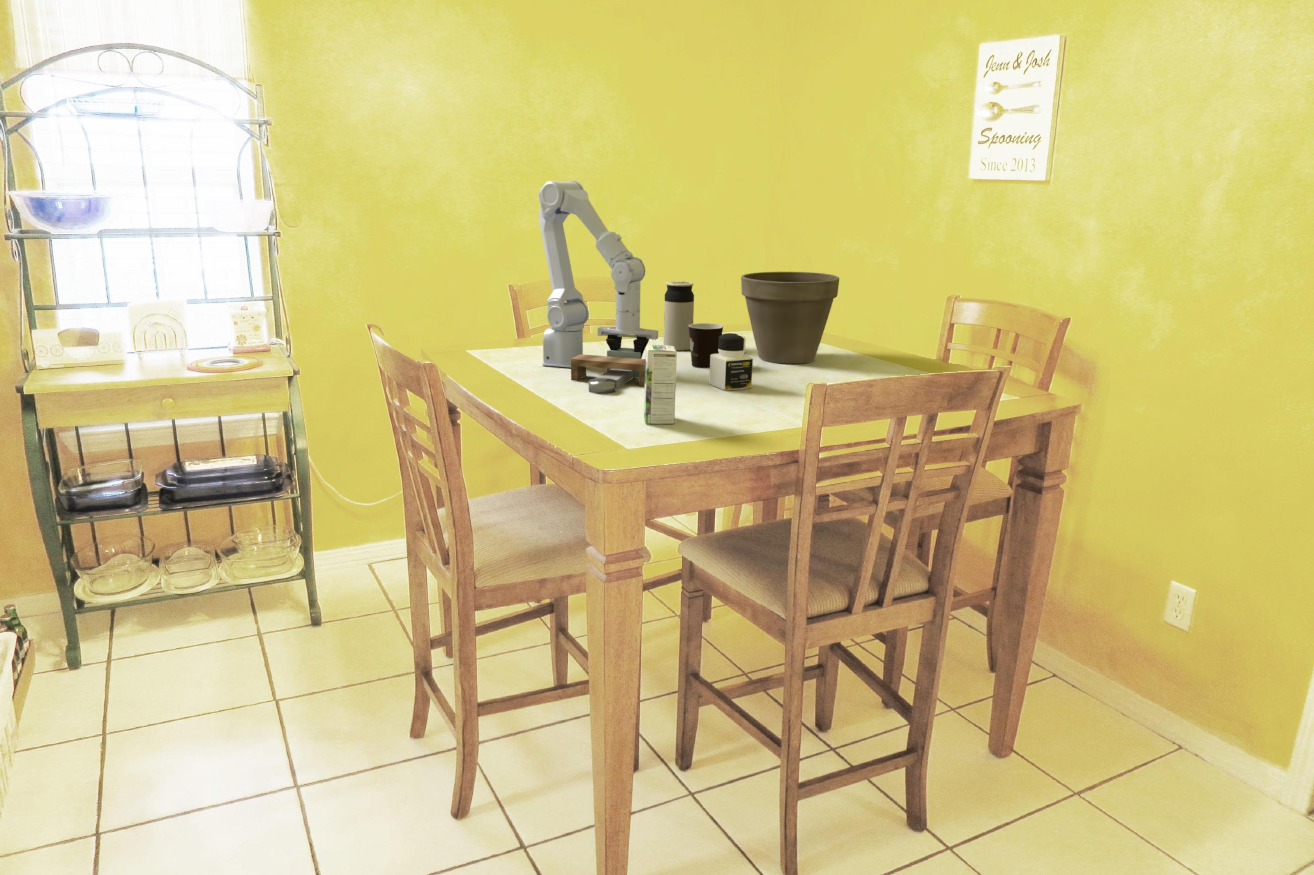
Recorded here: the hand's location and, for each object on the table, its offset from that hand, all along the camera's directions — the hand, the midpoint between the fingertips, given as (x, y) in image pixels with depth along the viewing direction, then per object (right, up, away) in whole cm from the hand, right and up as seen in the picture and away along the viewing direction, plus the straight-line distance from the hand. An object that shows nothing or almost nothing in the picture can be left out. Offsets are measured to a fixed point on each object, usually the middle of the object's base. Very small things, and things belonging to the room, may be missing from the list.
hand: (627, 367), depth 218 cm
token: (-5, -7, -17) cm, 18 cm away
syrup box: (+8, -14, -40) cm, 43 cm away
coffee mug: (+19, +2, +13) cm, 23 cm away
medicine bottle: (+24, -5, -10) cm, 26 cm away
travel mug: (+13, +7, +33) cm, 36 cm away
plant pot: (+41, +4, +22) cm, 47 cm away
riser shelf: (-3, -4, -7) cm, 8 cm away
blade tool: (-2, -3, -6) cm, 7 cm away
